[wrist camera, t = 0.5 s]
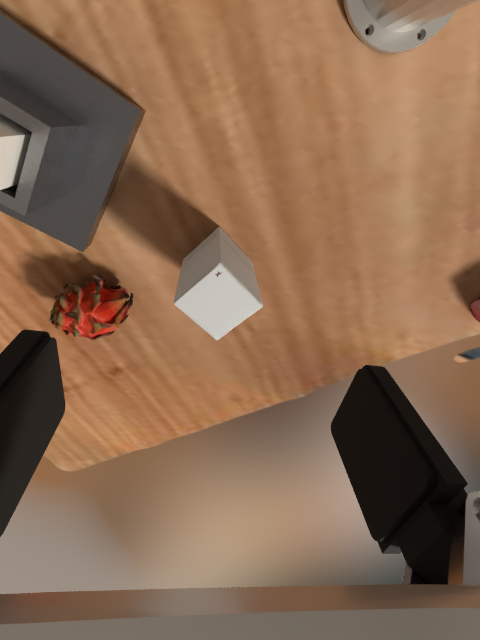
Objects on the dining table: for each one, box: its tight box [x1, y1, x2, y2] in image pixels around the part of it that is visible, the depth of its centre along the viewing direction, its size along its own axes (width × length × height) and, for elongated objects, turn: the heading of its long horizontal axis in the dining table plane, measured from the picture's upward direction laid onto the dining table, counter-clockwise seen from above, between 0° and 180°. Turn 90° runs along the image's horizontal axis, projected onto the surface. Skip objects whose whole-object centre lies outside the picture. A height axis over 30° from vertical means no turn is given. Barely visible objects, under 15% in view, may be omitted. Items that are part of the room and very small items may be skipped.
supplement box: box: [174, 227, 263, 340], centre depth 40 cm, size 7×7×13 cm
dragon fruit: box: [49, 274, 133, 340], centre depth 44 cm, size 8×8×12 cm
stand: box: [0, 9, 145, 252], centre depth 31 cm, size 18×18×10 cm
